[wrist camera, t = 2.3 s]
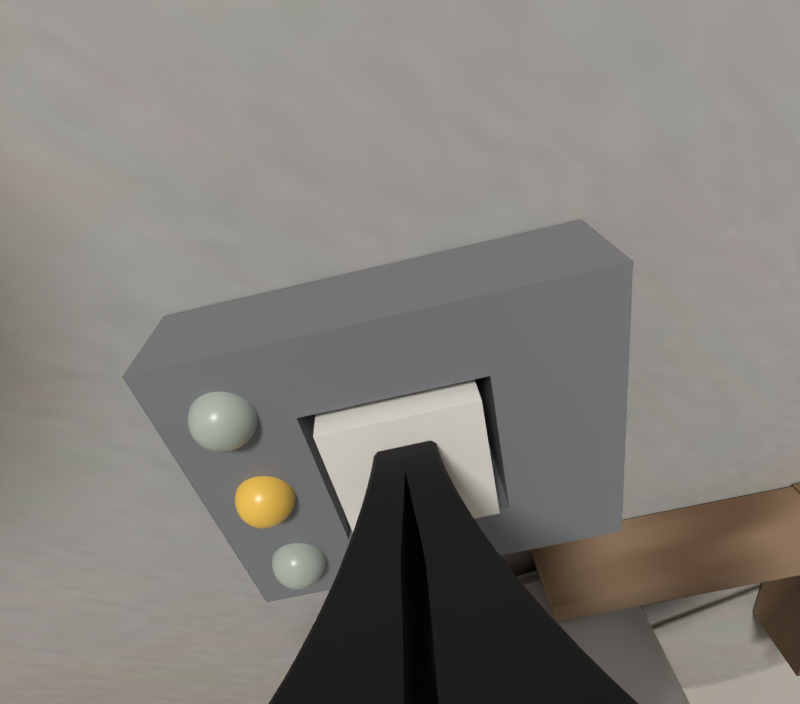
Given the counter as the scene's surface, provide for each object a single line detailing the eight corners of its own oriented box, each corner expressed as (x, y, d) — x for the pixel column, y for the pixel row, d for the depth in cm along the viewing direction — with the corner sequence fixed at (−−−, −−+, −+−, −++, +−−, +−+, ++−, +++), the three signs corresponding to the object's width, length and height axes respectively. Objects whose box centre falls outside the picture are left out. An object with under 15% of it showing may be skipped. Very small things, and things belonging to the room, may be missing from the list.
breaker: (462, 345, 12) (481, 400, 10) (480, 450, 14) (500, 513, 12) (319, 376, 12) (312, 436, 10) (356, 476, 14) (357, 542, 12)
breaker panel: (581, 219, 11) (651, 276, 9) (585, 464, 16) (633, 554, 13) (164, 316, 12) (107, 398, 9) (278, 528, 16) (262, 626, 13)
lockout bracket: (822, 478, 17) (999, 646, 12) (776, 607, 21) (895, 768, 16) (529, 536, 17) (592, 719, 13) (542, 651, 22) (593, 819, 17)
